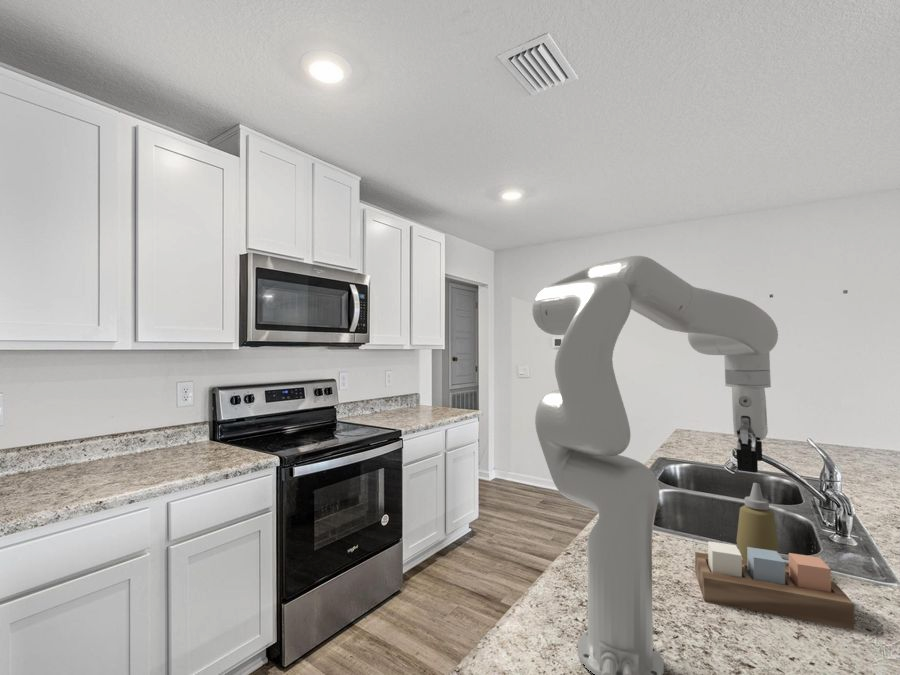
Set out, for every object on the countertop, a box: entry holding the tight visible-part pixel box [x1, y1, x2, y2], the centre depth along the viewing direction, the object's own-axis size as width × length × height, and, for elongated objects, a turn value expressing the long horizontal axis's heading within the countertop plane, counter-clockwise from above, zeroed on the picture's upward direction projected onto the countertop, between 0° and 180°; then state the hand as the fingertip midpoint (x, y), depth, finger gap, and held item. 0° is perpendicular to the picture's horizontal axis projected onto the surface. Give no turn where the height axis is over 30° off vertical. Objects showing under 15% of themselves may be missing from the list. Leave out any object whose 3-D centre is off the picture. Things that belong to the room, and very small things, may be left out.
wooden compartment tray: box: [694, 551, 855, 631], centre depth 87 cm, size 12×23×4 cm, turn 68°
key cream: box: [707, 541, 742, 577], centre depth 90 cm, size 5×5×5 cm
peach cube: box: [788, 552, 832, 592], centre depth 85 cm, size 5×5×5 cm
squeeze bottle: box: [735, 482, 780, 560], centre depth 102 cm, size 8×8×18 cm
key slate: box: [747, 547, 786, 585], centre depth 87 cm, size 5×5×5 cm
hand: (750, 465), depth 88 cm, fingers open, 9 cm apart
